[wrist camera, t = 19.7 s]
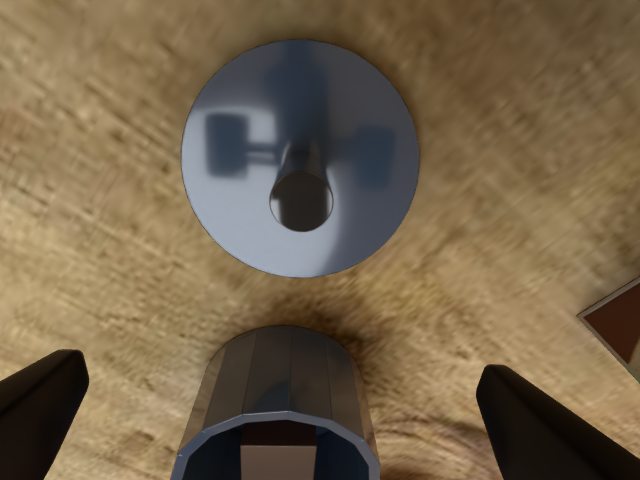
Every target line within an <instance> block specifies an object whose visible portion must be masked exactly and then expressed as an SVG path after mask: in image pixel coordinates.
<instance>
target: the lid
mask: <svg viewBox="0 0 640 480" xmlns="http://www.w3.org/2000/svg"><path fill="white" fill-rule="evenodd" d="M181 170H182V177H183V183H184V186H185V190H186V193H187V197H188V199H189V202H190V204H191V206H192V209H193V211H194V213H195V214H196V216H197V218H198V220H199V221H200V223H201V225H202V226H203V227H204V229H205V230H206V231H207V232H208V234H209V235H210V236H211V237H212V238H213V239H214V240H215V241H216V242H217V243H218V245H219V246H220V247H222V248H223V249H224V250H225V251H227V252H228V253H229V254H230V255H232V256H233V257H235V258H236V259H238V260H240V261H241V262H243V263H245V264H247V265H249V266H251V267H253V268H255V269H258V270H261V271H263V272H266V273H269V274H274V275H278V276H283V277H293V278H311V277H319V276H325V275H329V274H333V273H337V272H340V271H342V270H345V269H348V268H350V267H352V266H354V265H356V264H358V263H360V262H362V261H363V260H365V259H366V258H368V257H369V256H371V255H372V254H374V253H375V252H376V251H377V250H378V249H379V248H381V247H382V246H383V245H384V244H385V243H386V242H387V241H388V240H389V239H390V237H391V236H392V235H393V234H394V233H395V231H396V230H397V228H398V227H399V226H400V224H401V223H402V221H403V219H404V217H405V216H406V214H407V212H408V210H409V207H410V205H411V202H412V200H413V197H414V194H415V190H416V186H417V182H418V174H419V146H418V139H417V134H416V130H415V127H414V123H413V120H412V117H411V115H410V113H409V110H408V108H407V106H406V104H405V102H404V101H403V99H402V97H401V96H400V94H399V92H398V91H397V89H396V88H395V87H394V86H393V85H392V83H391V82H390V81H389V80H388V78H387V77H386V76H385V75H384V74H382V73H381V72H380V71H379V70H378V69H377V68H376V67H375V66H374V65H372V64H371V63H369V62H368V61H366V60H365V59H364V58H362V57H361V56H359V55H357V54H355V53H353V52H351V51H349V50H347V49H345V48H342V47H339V46H336V45H333V44H330V43H327V42H321V41H315V40H303V39H290V40H283V41H275V42H271V43H268V44H264V45H261V46H257V47H255V48H253V49H251V50H249V51H246V52H244V53H242V54H240V55H239V56H237V57H236V58H234V59H233V60H231V61H230V62H228V63H227V64H225V65H224V66H223V67H222V68H221V69H220V70H219V71H218V72H216V73H215V74H214V75H213V76H212V78H211V79H210V80H209V81H208V82H207V84H206V85H205V86H204V87H203V88H202V90H201V92H200V93H199V95H198V97H197V98H196V100H195V102H194V103H193V106H192V108H191V110H190V113H189V115H188V117H187V120H186V124H185V128H184V132H183V137H182V145H181Z"/></svg>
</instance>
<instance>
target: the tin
mask: <svg viewBox="0 0 640 480" xmlns="http://www.w3.org/2000/svg"><path fill="white" fill-rule="evenodd" d="M274 420H292V421H297V422H301V423H306V424H311V425H316V435H317V450H316V460H315V470H314V480H380V461H379V456H378V451H377V446H376V441H375V436H374V431H373V426H372V421H371V416H370V412H369V407H368V402H367V397H366V392H365V387H364V382H363V377H362V375H361V373H360V371H359V368H358V366H357V364H356V361H355V360H354V358H353V357H352V356H351V354H350V353H349V352H348V351H347V350H346V349H345V348H344V347H343V346H342V345H341V344H339V343H338V342H337V341H335V340H334V339H332V338H330V337H329V336H327V335H324V334H322V333H320V332H317V331H314V330H311V329H307V328H302V327H296V326H271V327H264V328H259V329H255V330H252V331H249V332H246V333H244V334H242V335H240V336H238V337H236V338H234V339H233V340H231V341H230V342H228V343H227V344H225V345H224V346H223V347H222V348H221V349H220V350H219V351H218V352H217V353H216V354H215V356H214V357H213V358H212V360H211V362H210V363H209V364H208V366H207V368H206V371H205V374H204V377H203V380H202V383H201V386H200V389H199V391H198V394H197V397H196V400H195V403H194V406H193V409H192V412H191V415H190V417H189V420H188V423H187V426H186V429H185V432H184V435H183V438H182V441H181V443H180V446H179V449H178V452H177V455H176V459H175V462H174V466H173V470H172V473H171V477H170V480H241V455H240V444H241V438H242V433H243V427H244V423H248V422H261V421H274Z"/></svg>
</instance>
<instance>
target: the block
mask: <svg viewBox="0 0 640 480" xmlns="http://www.w3.org/2000/svg"><path fill="white" fill-rule="evenodd" d="M316 450H317V435H316V425H311V424H306V423H301V422H297V421H292V420H274V421H261V422H248V423H244V427H243V433H242V438H241V444H240V455H241V480H314V470H315V460H316Z"/></svg>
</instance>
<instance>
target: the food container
mask: <svg viewBox="0 0 640 480" xmlns="http://www.w3.org/2000/svg"><path fill="white" fill-rule="evenodd" d="M577 317H578V318H579V319H580V321H581V322H582V323H583V324H584V325H585V326H586V327H587V328H588V329H589V330H590V331H591V332H592V333H593V334H594V335H595V337H596V338H597V339H598V340H599V341H600V342H601V343H602V344H603V345H604V346H605V347H606V348H607V349H608V350H609V351H610V352H611V354H612V355H613V356H614V357H615V358H616V359H617V360H618V361H619V362H620V363H621V364H622V365H623V366H624V367H625V368H626V369H627V370H628V372H629V373H630V374H631V375H632V376H633V377H634V378H635V379H636V380H637V381H638V382H639V383H640V277H638V278H637V279H635V280H634V281H632V282H630V283H629V284H627V285H626V286H624V287H622V288H621V289H619V290H618V291H616V292H614V293H613V294H611V295H609V296H608V297H606V298H605V299H603V300H601V301H600V302H598V303H597V304H595V305H593V306H592V307H590V308H589V309H587V310H585V311H584V312H582V313H580V314H579V315H577Z"/></svg>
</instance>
